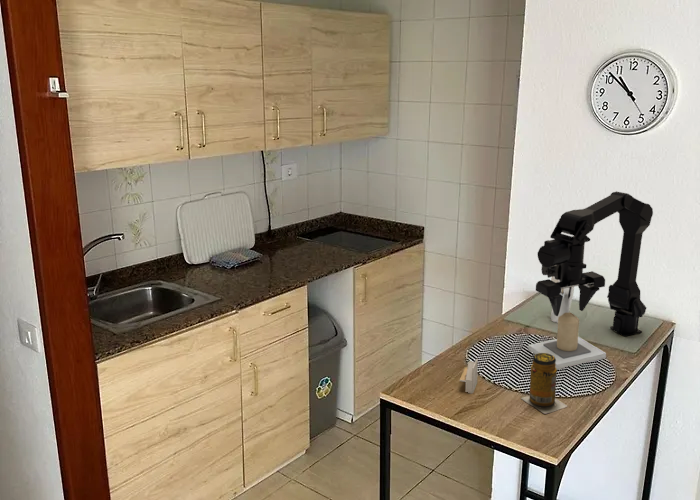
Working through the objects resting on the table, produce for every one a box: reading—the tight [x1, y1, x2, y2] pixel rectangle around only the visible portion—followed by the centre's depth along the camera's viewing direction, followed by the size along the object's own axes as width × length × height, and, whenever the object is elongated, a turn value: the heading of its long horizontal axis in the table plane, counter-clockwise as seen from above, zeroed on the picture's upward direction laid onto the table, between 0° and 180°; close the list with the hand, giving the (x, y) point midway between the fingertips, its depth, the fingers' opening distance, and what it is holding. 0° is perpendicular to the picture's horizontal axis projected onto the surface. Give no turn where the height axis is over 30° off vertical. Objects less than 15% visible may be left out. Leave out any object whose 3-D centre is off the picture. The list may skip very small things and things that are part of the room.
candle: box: [556, 311, 580, 351], centre depth 181 cm, size 6×6×10 cm
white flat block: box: [528, 336, 607, 370], centre depth 182 cm, size 16×13×2 cm
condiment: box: [520, 353, 568, 415], centre depth 157 cm, size 7×8×12 cm
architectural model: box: [459, 358, 479, 394], centre depth 167 cm, size 3×7×7 cm, turn 159°
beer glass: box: [550, 277, 575, 324], centre depth 202 cm, size 7×7×15 cm
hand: (568, 313), depth 179 cm, fingers open, 8 cm apart
